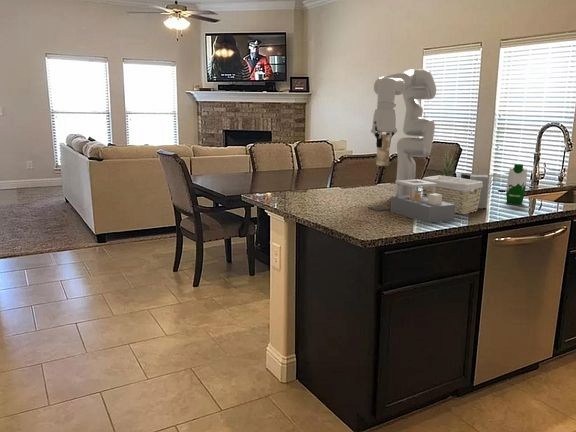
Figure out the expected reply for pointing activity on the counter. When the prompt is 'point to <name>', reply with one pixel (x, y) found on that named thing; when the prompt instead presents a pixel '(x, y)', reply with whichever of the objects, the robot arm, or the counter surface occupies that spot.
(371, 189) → the counter surface
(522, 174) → the milk carton
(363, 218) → the counter surface
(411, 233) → the counter surface
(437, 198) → the on button
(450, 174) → the potted plant
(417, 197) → the plunger
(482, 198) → the skincare box
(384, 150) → the wooden rectangular block
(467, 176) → the supplement container
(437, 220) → the grey housing
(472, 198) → the storage basket
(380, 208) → the pad
